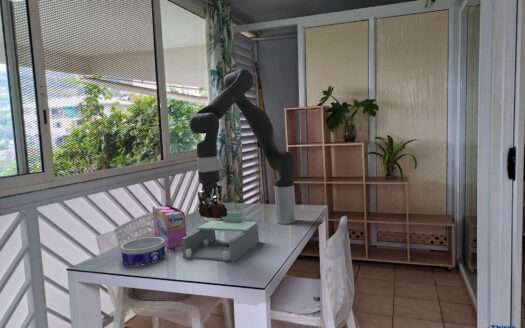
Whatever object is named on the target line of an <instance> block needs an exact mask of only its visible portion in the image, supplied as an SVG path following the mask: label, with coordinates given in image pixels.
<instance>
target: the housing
mask: <svg viewBox="0 0 525 328" xmlns="http://www.w3.org/2000/svg"><path fill="white" fill-rule="evenodd" d="M259 234H260V233H259V225H258V223H257V224H256V225H255V226H254V227H252V228H251V229H249V230H248V231H246V232H245V231H241V232H240V233H239V234H238V235H237V236H235V237H233V238H232V239H230V240H229V241H228V244H229V247H228V246H215V245H210V244H211V243H212V242H214V241H215V240H217V235H216V230H200V229H196V230H195V231H193V232H191V233H189V234H186V236H185V237H183V238H181V243H182V246H181V252H182V253H181V254H182V258H186V259H193V260H194V259H196V260H207V261H208V260H210V261H220V262H236V261H237V260H238V259H239V258H241V257H242V256H244V255H245V254H246V253H247V252H249V250H250V249H252V248H253V247H254V246H256V245H257V244H258V243H259V242H260V238H259V237H260V235H259Z"/></svg>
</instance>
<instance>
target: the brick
mask: <svg viewBox="0 0 525 328" xmlns="http://www.w3.org/2000/svg"><path fill="white" fill-rule="evenodd" d="M203 204H204V203H203ZM211 211H212V217H211V218H218V219H221V218H222V217H226V216H227V212H228V208H227V207H226V204H223V203H222V204H214V203H211ZM198 213H199V217H203V218H205V217H206V216H205V208H204V207H201V206H200V203H199V204H198Z"/></svg>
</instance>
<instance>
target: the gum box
mask: <svg viewBox="0 0 525 328" xmlns="http://www.w3.org/2000/svg"><path fill="white" fill-rule="evenodd" d="M152 218H153V229H154V237H159V238H162V239H164V244H165V247H166V246H167V247H166V248H167V249H169V248H170V249H174V248H177V247H182V243H181V238H183V237H185V236H187V228H186V226H187V225H186V214H185V212H184V211H183V210H181V209H179V208H177V207H175V206H174V205H171V204H169V203H167V204H165V205H164V206H156V207H155V206H152ZM173 247H174V248H173Z"/></svg>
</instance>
